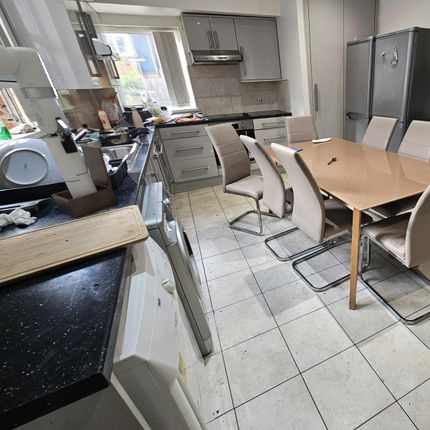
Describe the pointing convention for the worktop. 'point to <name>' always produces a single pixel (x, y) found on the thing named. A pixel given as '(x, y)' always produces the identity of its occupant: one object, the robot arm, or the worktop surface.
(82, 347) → the worktop surface
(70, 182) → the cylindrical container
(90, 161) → the lid
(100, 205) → the chest
